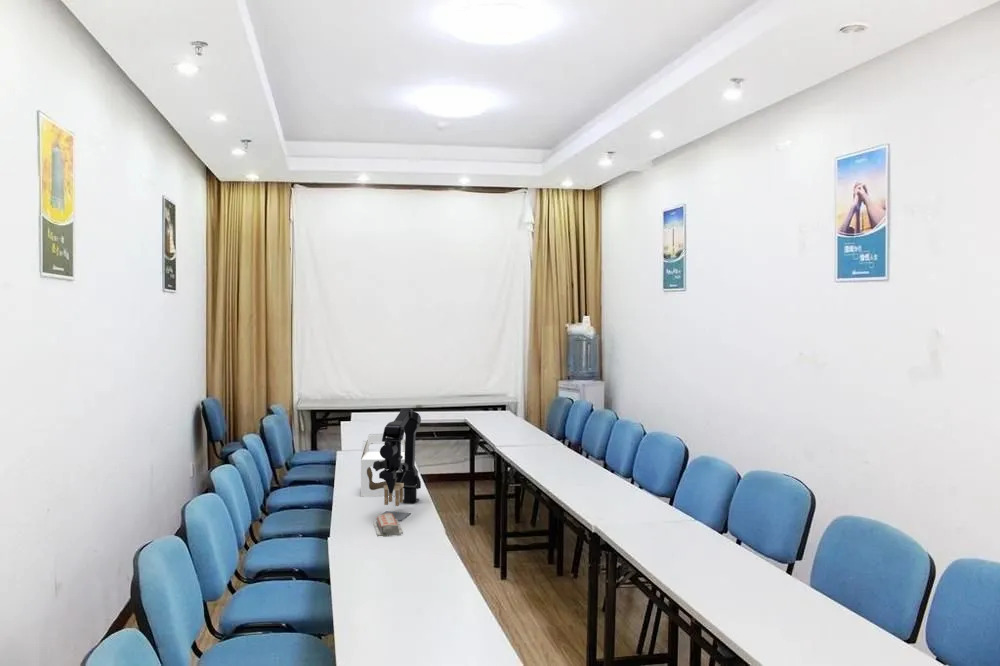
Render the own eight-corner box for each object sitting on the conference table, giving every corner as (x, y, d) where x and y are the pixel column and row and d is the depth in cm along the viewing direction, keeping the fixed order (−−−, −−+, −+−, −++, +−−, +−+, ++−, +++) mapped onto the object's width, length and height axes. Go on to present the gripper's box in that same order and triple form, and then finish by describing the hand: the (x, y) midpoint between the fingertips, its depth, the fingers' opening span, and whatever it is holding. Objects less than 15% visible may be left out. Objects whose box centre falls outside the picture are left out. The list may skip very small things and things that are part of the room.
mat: (386, 512, 314) (386, 510, 314) (410, 513, 311) (410, 512, 311) (376, 519, 303) (376, 518, 303) (401, 521, 301) (401, 520, 301)
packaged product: (403, 523, 283) (377, 525, 280) (403, 536, 283) (377, 538, 280) (397, 510, 300) (372, 512, 297) (397, 522, 300) (372, 524, 298)
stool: (389, 500, 311) (389, 482, 311) (403, 501, 309) (403, 483, 309) (383, 504, 305) (383, 485, 304) (398, 505, 303) (398, 486, 303)
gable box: (410, 489, 353) (410, 431, 352) (408, 496, 340) (409, 436, 339) (363, 489, 351) (363, 431, 350) (360, 497, 338) (360, 436, 337)
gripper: (384, 448, 317) (384, 484, 318) (367, 457, 299) (367, 495, 299) (408, 450, 315) (408, 486, 315) (393, 459, 296) (392, 497, 297)
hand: (393, 491), depth 307 cm, fingers closed on stool, 6 cm apart
